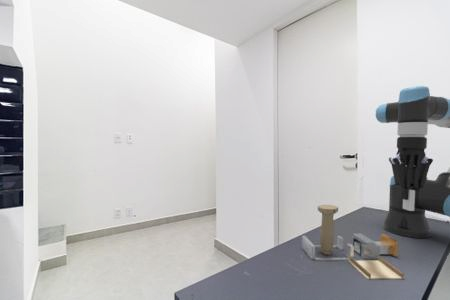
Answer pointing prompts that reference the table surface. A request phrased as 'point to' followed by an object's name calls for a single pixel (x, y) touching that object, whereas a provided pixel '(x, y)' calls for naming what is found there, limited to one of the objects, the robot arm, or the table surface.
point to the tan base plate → (376, 269)
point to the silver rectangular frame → (310, 248)
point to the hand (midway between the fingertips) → (408, 209)
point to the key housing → (366, 246)
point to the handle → (327, 228)
